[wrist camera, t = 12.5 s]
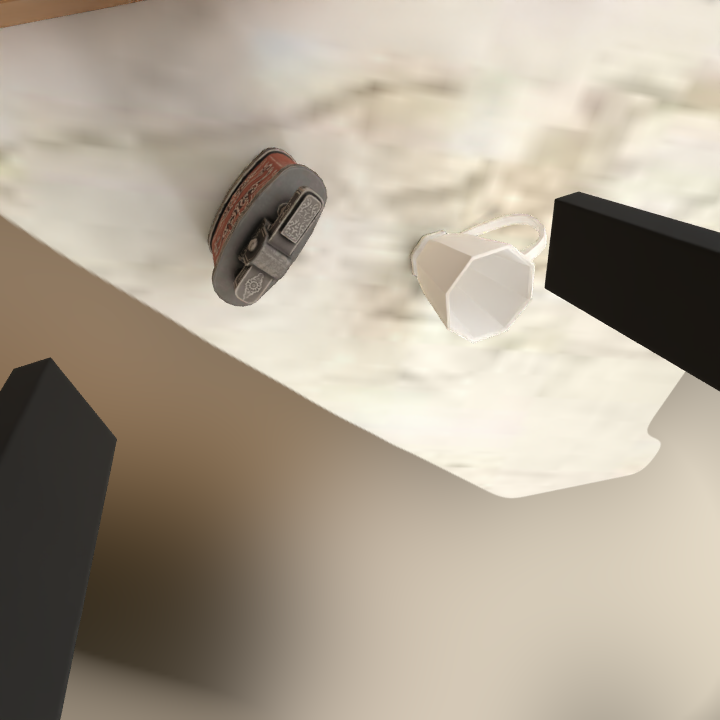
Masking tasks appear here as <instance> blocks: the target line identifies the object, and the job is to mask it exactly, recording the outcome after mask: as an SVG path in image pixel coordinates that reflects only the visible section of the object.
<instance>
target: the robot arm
mask: <svg viewBox="0 0 720 720" xmlns="http://www.w3.org/2000/svg"><path fill="white" fill-rule="evenodd" d="M545 289H547V290H549V291H550V292H552V293H554V294H555V295H557V296H559V297H561V298H562V299H564V300H566V301H567V302H569V303H571V304H572V305H574V306H576V307H578V308H579V309H581V310H583V311H584V312H586V313H588V314H589V315H591V316H593V317H594V318H596V319H598V320H600V321H601V322H603V323H605V324H606V325H608V326H610V327H611V328H613V329H615V330H617V331H618V332H620V333H622V334H623V335H625V336H627V337H628V338H630V339H632V340H634V341H635V342H637V343H639V344H640V345H642V346H644V347H645V348H647V349H649V350H650V351H652V352H654V353H656V354H657V355H659V356H661V357H662V358H664V359H666V360H667V361H669V362H671V363H673V364H674V365H676V366H678V367H679V368H681V369H683V370H684V371H686V372H688V373H690V374H691V375H693V376H695V377H696V378H698V379H700V380H701V381H703V382H705V383H706V384H708V385H710V386H712V387H713V388H715V389H717V390H718V391H720V233H719V232H716V231H712V230H709V229H706V228H702V227H699V226H695V225H692V224H688V223H685V222H681V221H678V220H674V219H671V218H668V217H664V216H661V215H657V214H654V213H650V212H647V211H643V210H640V209H637V208H633V207H630V206H626V205H623V204H619V203H616V202H612V201H609V200H606V199H602V198H599V197H595V196H592V195H588V194H585V193H581V192H576V193H573V194H570V195H566V196H563V197H560V198H557V199H555V203H554V211H553V220H552V229H551V237H550V246H549V254H548V263H547V271H546V280H545ZM116 441H117V439H116V437H115V436H114V435H113V434H112V432H111V431H110V430H109V429H108V427H107V426H106V425H105V424H104V423H103V421H102V420H101V419H100V418H99V417H98V415H97V414H96V413H95V411H94V410H93V409H92V408H91V407H90V405H89V404H88V403H87V402H86V400H85V399H84V398H83V397H82V395H81V394H80V393H79V392H78V391H77V390H76V388H75V387H74V386H73V384H72V383H71V382H70V381H69V379H68V378H67V377H66V376H65V374H64V373H63V372H62V371H61V370H60V368H59V367H58V366H57V365H56V363H55V362H54V361H53V360H52V359H51V358H47V359H44V360H41V361H38V362H34V363H31V364H28V365H25V366H21V367H18V368H15V369H13V371H12V373H11V374H10V376H9V378H8V379H7V381H6V383H5V384H4V386H3V388H2V390H1V391H0V720H60V718H61V713H62V708H63V703H64V698H65V693H66V688H67V683H68V678H69V673H70V669H71V663H72V659H73V653H74V648H75V643H76V639H77V634H78V629H79V624H80V619H81V614H82V609H83V604H84V599H85V594H86V589H87V584H88V580H89V575H90V569H91V565H92V560H93V555H94V550H95V545H96V540H97V535H98V530H99V525H100V520H101V515H102V510H103V505H104V500H105V495H106V491H107V486H108V480H109V475H110V471H111V466H112V461H113V456H114V451H115V446H116Z"/></svg>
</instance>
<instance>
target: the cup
mask: <svg viewBox="0 0 720 720" xmlns="http://www.w3.org/2000/svg"><path fill="white" fill-rule="evenodd" d="M514 224H525V225H529V226H531V227H533V228H534V229H536V230H537V231H538V232H539V237H538V239H537V240H536V242H535V243H533V244H531V245H530V246H528V247H526V248H525V249H523V250H522V251H519V250H518V249H516V248H515V247H514V246H513V245H511V244H508V243H504V242H500V241H496V240H491V239H486V238H482V237H478V235H480V234H483V233H486V232H489V231H492V230H495V229H498V228H501V227H505V226H509V225H514ZM546 245H547V233H546V230H545V227H544V225H543V224H542V223H541V222H540V221H539V220H538V219H537V218H535V217H533V216H531V215H529V214H522V213H514V214H509V215H504V216H500V217H498V218H495V219H492V220H489V221H486V222H483V223H481V224H478V225H475V226H473V227H471V228H469V229H467V230H465V231H462V232H460V233H449V234H447V233H446V232H445V231H443V230H441V231H437V232H434V233H431V234H428V235H425V236H423V237H422V238H421V240H420V241H419V243H418V244H417V246H416V247H415V249H414V250H413V252H412V253H411V265H412V274H413V275H414V276H416V277H417V278H418V282H419V284H420V286H421V288H422V291H423V293H424V295H425V297H426V298H427V299H428V301H429V302H430V304H431V305H432V307H433V308H434V310H435V311H436V313H437V314H438V316H439V317H440V319H441V321H442V322H443V323H444V325H445V326H446V328H447V329H448V330H449V331H451V332H453V333H455V334H457V335H459V336H460V337H462V338H464V339H466V340H468V341H470V342H471V343H476V342H479V341H481V340H484V339H487V338H490V337H492V336H495V335H498V334H501V333H503V332H506V331H507V330H508V329H509V328H510V327H511V325H512V324H513V323H514V322H515V320H516V319H517V318H518V317H519V315H520V314H521V313H522V312H523V310H524V309H525V308H526V307H527V305H528V304H529V303H530V302H531V300H532V293H533V281H534V270H535V263H534V262H532V260H533V259H534V258H535V257H536V256H538V255H539V254H540V253H541V252H542V251H543V249H544V248H545V247H546Z"/></svg>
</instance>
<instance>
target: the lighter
mask: <svg viewBox="0 0 720 720" xmlns="http://www.w3.org/2000/svg"><path fill="white" fill-rule="evenodd" d="M326 200H327V192H326V187H325V185H324V183H323V180H322V179H321V178H320V177H319V176H318V175H317V173H316V172H314V171H313V170H311V169H309V168H308V167H306V166H304V165H300V164H297V163H296V161H295V160H294V159H293V158H292V157H291V155H289V154H288V153H286V152H285V151H283V150H281V149H278V148H267V149H266V150H264V151H262V152H261V153H260V154H259V155H258V156H257V157H256V158H255V159H254V160H253V161H252V162H251V163H250V164H249V166H248V167H247V168H246V169H245V170H244V171H243V172H242V174H241V175H240V176H239V178H238V179H237V180H236V181H235V183H234V184H233V185H232V187H231V188H230V189H229V191H228V193H227V195H226V197H225V198H224V200H223V202H222V204H221V206H220V208H219V210H218V212H217V214H216V216H215V219H214V222H213V224H212V227H211V230H210V232H209V236H208V245H209V249H210V251H211V253H212V254H213V260H214V269H213V274H212V283H213V287H214V290H215V292H216V293H217V295H218V296H219V298H221V299H222V300H224V301H225V302H226V303H229V304H231V305H234V306H248V305H251V304H253V303H255V302H256V301H258V300H259V299H260V298H261V297H262V296H263V295H264V294H265V293H266V292H267V291H268V290H269V289H270V288H271V287H272V286H273V285H274V284H275V283H276V282H277V281H278V280H279V279H281V278H282V277H283V276H284V274H285V273H286V272H287V270H288V269H289V267H290V266H291V264H292V263H293V262H294V261H295V260H296V258H297V257H298V255H299V253H300V252H301V250H302V249H303V247H304V245H305V244H306V242H307V240H308V239H309V237H310V236H311V234H312V232H313V230H314V228H315V226H316V224H317V222H318V219H319V217H320V215H321V213H322V211H323V209H324V207H325V204H326Z"/></svg>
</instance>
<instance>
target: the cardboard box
mask: <svg viewBox="0 0 720 720" xmlns="http://www.w3.org/2000/svg"><path fill="white" fill-rule="evenodd" d="M140 1H145V0H0V28H4V27H9V26H14V25H19V24H25V23H30V22H35V21H40V20H45V19H51V18H56V17H61V16H66V15H72V14H77V13H82V12H87V11H93V10H98V9H103V8H108V7H113V6H119V5H124V4H129V3H134V2H140Z"/></svg>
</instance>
